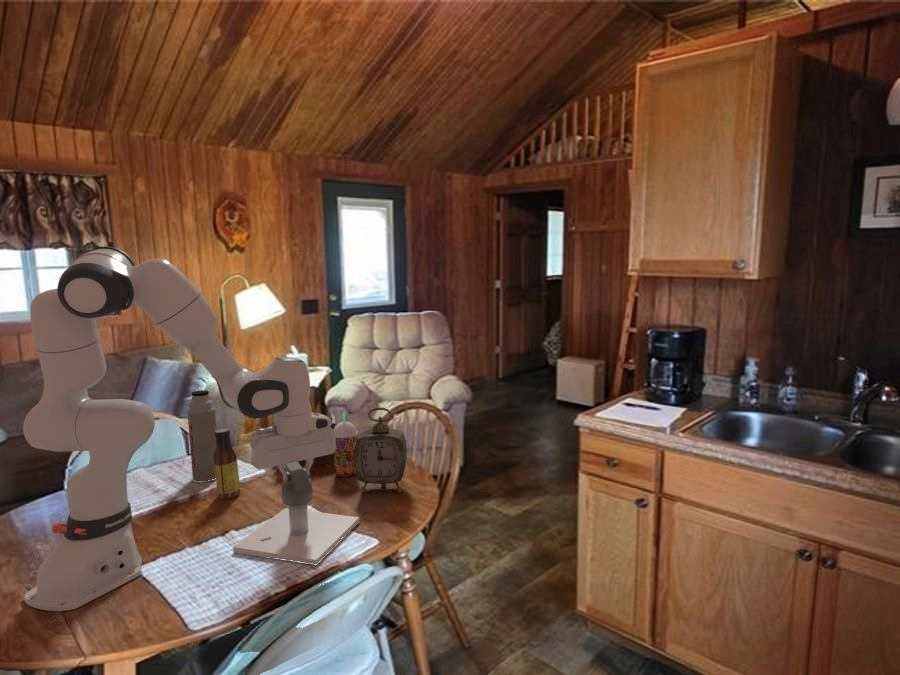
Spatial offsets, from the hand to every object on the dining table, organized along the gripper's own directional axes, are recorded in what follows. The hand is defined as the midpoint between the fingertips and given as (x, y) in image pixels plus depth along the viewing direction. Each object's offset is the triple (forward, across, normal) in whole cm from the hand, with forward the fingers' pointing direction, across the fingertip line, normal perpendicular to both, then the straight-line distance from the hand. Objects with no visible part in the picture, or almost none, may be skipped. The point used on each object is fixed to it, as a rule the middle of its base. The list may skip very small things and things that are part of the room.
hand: (296, 478), depth 141 cm
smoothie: (+15, +27, +32) cm, 45 cm away
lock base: (+15, 0, 0) cm, 15 cm away
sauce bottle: (+15, -8, +37) cm, 41 cm away
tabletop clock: (+16, +31, +14) cm, 37 cm away
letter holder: (+16, +22, +50) cm, 57 cm away
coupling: (+6, 0, 0) cm, 6 cm away
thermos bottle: (+15, -10, +56) cm, 59 cm away
